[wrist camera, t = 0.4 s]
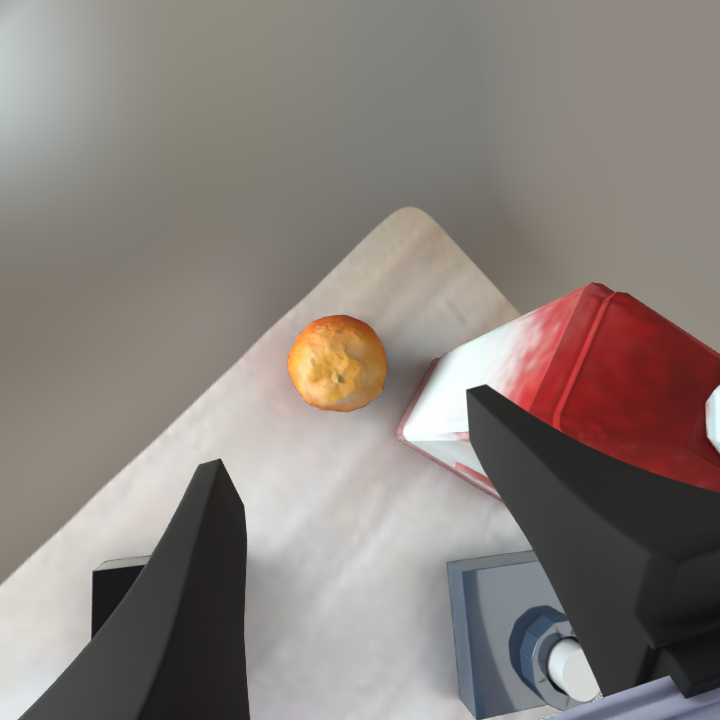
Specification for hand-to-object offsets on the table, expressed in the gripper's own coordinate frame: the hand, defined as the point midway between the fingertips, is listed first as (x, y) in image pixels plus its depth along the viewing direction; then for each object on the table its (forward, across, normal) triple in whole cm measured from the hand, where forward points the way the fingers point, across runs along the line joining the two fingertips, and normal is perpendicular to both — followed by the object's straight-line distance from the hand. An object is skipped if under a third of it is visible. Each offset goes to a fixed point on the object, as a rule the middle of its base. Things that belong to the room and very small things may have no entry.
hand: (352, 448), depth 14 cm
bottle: (+21, -12, +23) cm, 33 cm away
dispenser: (+10, -9, +34) cm, 37 cm away
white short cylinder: (+5, -12, +34) cm, 36 cm away
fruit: (+25, 0, +14) cm, 29 cm away
